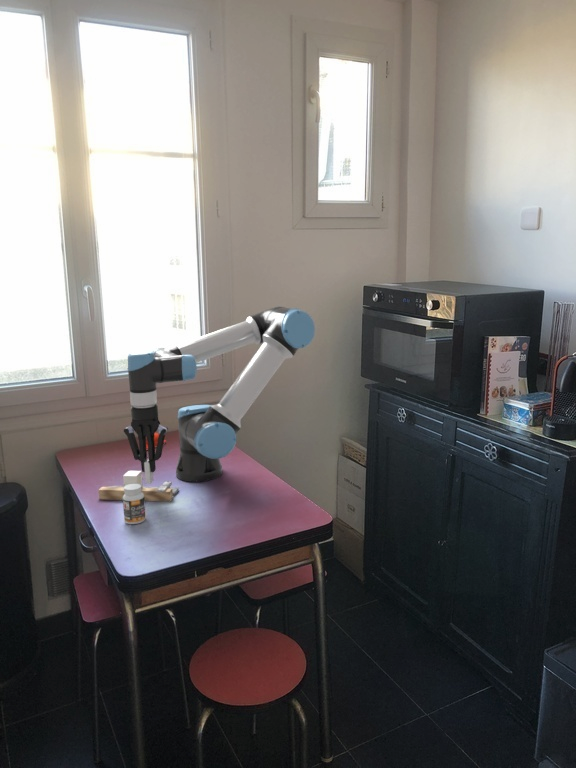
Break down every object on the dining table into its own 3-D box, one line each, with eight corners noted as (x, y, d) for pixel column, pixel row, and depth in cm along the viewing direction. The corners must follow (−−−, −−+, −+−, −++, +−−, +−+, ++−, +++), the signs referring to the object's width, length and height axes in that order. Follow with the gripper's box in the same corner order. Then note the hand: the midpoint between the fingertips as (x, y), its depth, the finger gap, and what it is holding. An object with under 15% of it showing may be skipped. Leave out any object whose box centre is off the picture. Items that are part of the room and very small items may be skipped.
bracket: (147, 451, 231) (146, 438, 230) (139, 450, 233) (138, 437, 232) (168, 443, 241) (167, 430, 240) (160, 442, 243) (159, 429, 242)
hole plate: (178, 490, 193) (178, 487, 192) (174, 496, 188) (174, 492, 188) (110, 488, 195) (110, 485, 195) (104, 494, 191) (104, 490, 191)
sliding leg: (147, 490, 192) (145, 467, 190) (138, 500, 185) (136, 476, 183) (134, 490, 193) (132, 466, 191) (125, 500, 185) (123, 475, 184)
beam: (172, 498, 187) (172, 488, 186) (170, 501, 184) (169, 491, 184) (102, 495, 190) (102, 486, 189) (99, 499, 187) (98, 489, 187)
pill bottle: (135, 526, 168) (132, 492, 166) (120, 522, 171) (117, 488, 169) (150, 518, 173) (147, 485, 170) (135, 514, 176) (132, 481, 173)
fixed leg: (172, 488, 191) (171, 481, 190) (164, 497, 184) (163, 490, 183) (165, 488, 191) (165, 481, 191) (158, 497, 184) (157, 490, 184)
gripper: (169, 401, 183) (174, 478, 188) (127, 401, 185) (133, 476, 190) (161, 408, 176) (166, 487, 181) (117, 407, 177) (123, 486, 182)
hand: (149, 481), depth 185 cm, fingers closed
